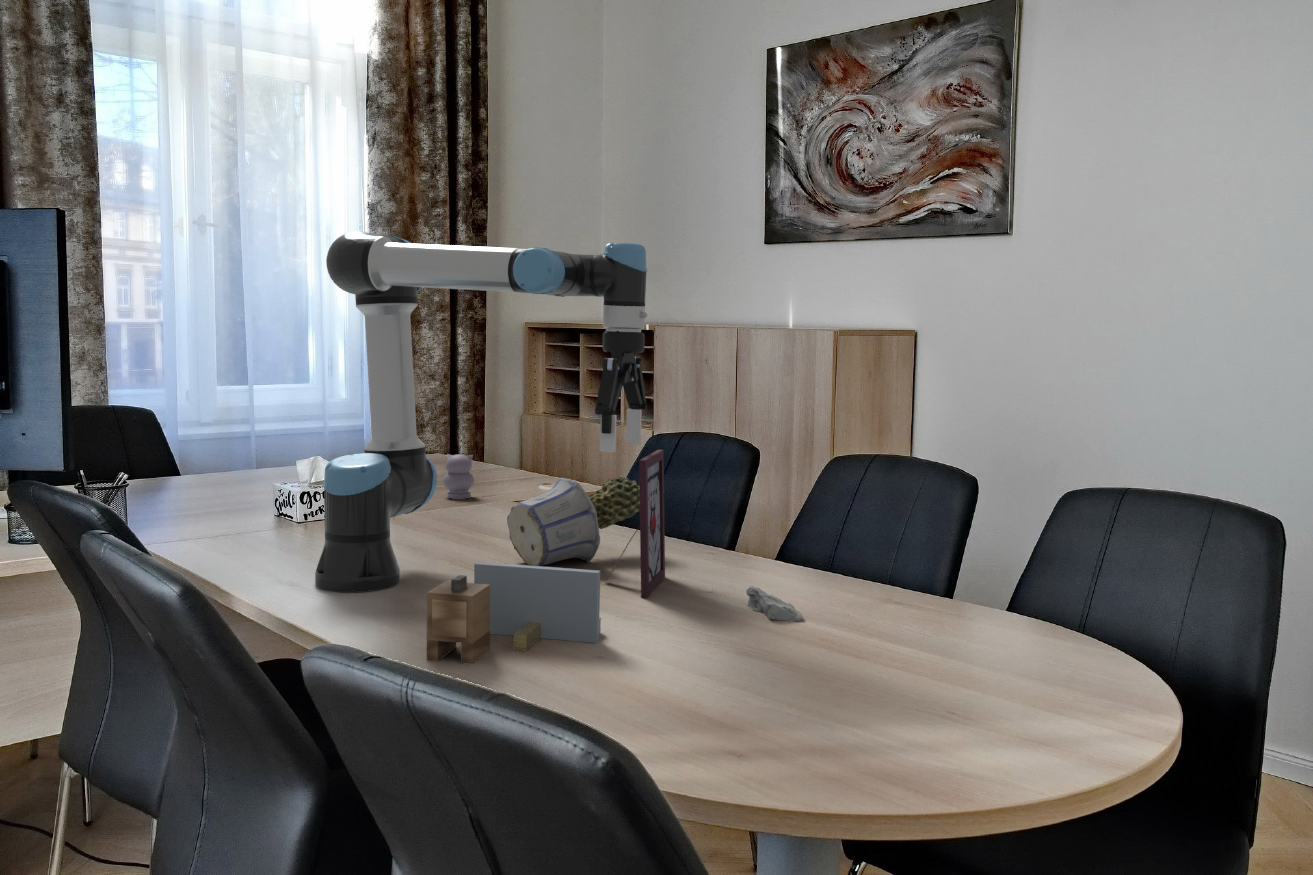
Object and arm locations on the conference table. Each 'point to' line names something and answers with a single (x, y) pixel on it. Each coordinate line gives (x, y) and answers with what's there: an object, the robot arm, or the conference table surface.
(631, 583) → the conference table surface
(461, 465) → the cat figurine
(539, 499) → the potted plant
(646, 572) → the picture frame
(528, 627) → the rail
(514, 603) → the wall board
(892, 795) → the conference table surface
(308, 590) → the conference table surface
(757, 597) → the stone
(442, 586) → the cabinet block
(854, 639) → the conference table surface
